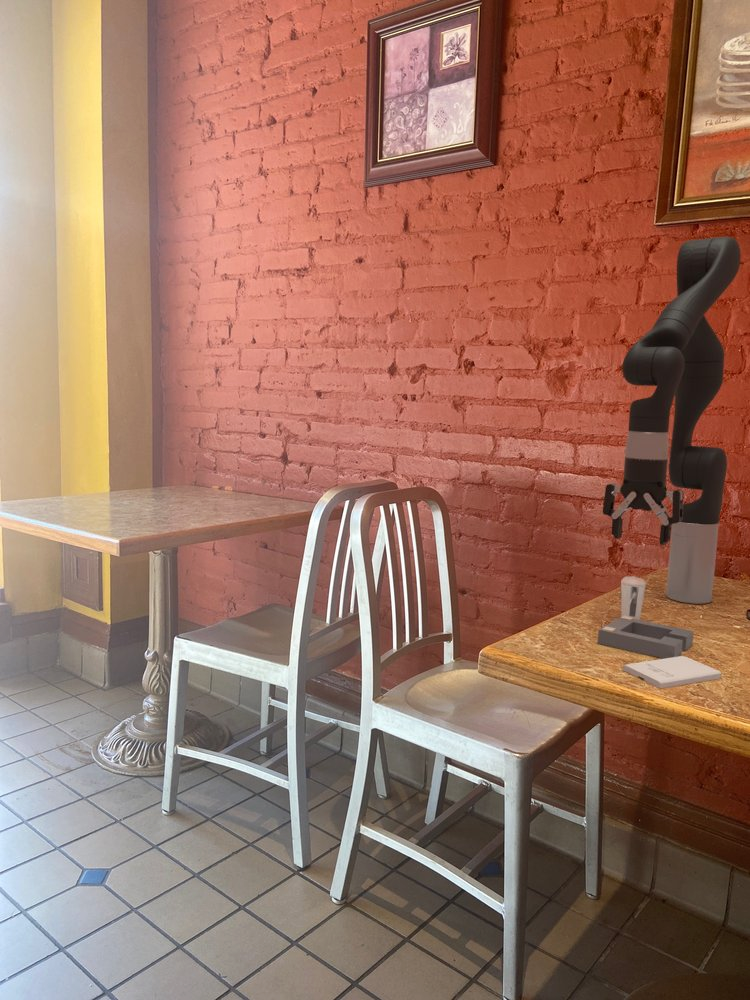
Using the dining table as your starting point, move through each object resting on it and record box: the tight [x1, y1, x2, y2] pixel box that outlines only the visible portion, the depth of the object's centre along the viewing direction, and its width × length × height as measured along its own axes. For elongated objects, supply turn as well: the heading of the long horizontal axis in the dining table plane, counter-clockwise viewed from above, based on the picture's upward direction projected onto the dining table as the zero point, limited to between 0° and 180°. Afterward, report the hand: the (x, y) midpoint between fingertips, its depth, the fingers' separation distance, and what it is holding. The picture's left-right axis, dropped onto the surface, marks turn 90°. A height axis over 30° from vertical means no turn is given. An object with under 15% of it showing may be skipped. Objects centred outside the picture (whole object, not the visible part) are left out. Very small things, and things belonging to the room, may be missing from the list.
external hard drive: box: [621, 655, 723, 690], centre depth 118 cm, size 2×8×12 cm
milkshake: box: [620, 573, 652, 620], centre depth 144 cm, size 4×5×10 cm
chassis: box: [597, 616, 695, 659], centre depth 132 cm, size 11×13×3 cm
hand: (639, 541), depth 142 cm, fingers open, 8 cm apart
